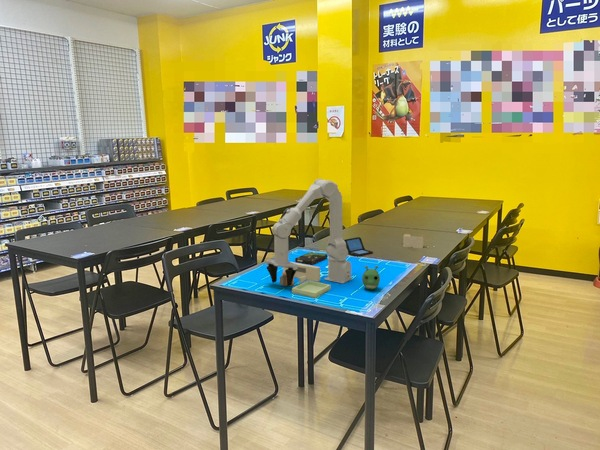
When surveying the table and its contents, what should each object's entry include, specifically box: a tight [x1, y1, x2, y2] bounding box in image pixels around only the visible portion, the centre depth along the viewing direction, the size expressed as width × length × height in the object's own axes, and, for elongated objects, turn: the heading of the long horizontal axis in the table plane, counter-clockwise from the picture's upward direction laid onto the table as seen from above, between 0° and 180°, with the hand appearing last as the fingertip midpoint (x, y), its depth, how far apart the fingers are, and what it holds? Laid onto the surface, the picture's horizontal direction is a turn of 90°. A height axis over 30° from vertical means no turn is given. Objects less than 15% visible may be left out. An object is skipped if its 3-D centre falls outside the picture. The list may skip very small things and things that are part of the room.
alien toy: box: [361, 265, 381, 290], centre depth 181 cm, size 7×8×10 cm
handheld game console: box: [344, 236, 374, 258], centre depth 238 cm, size 12×11×7 cm
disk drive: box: [294, 251, 328, 266], centre depth 225 cm, size 10×3×15 cm
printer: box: [282, 261, 321, 284], centre depth 195 cm, size 18×7×6 cm, turn 57°
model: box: [402, 233, 425, 249], centre depth 251 cm, size 3×11×8 cm, turn 73°
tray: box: [291, 280, 331, 299], centre depth 180 cm, size 11×12×2 cm
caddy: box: [279, 272, 295, 287], centre depth 188 cm, size 5×7×5 cm, turn 147°
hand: (281, 283), depth 185 cm, fingers open, 7 cm apart
